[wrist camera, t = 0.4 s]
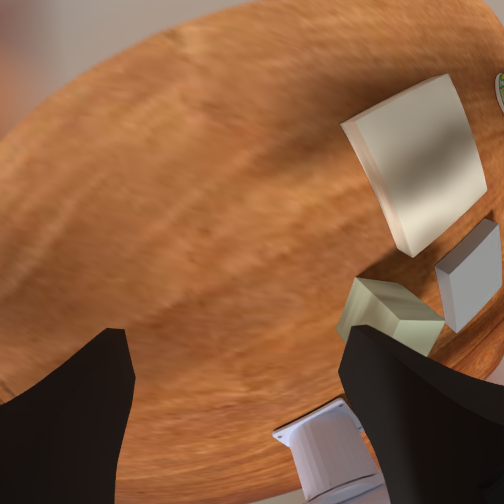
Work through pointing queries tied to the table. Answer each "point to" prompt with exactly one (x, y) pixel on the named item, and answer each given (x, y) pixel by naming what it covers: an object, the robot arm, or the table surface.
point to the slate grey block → (470, 274)
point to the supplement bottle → (500, 89)
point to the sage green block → (390, 314)
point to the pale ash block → (419, 160)
